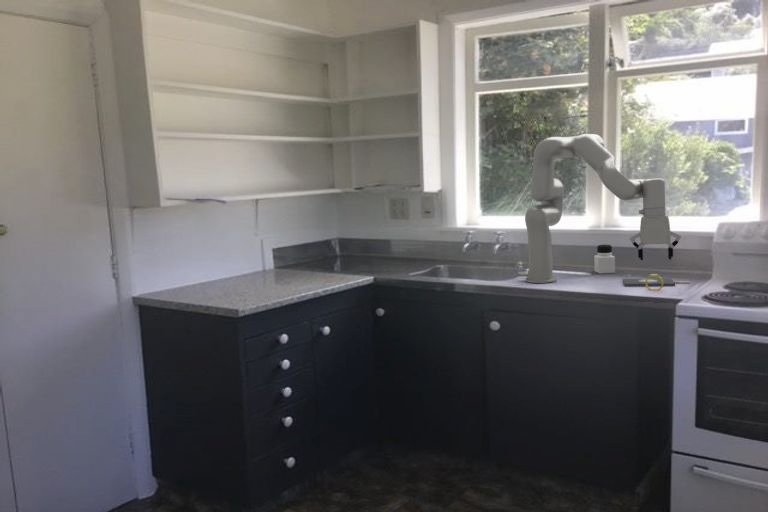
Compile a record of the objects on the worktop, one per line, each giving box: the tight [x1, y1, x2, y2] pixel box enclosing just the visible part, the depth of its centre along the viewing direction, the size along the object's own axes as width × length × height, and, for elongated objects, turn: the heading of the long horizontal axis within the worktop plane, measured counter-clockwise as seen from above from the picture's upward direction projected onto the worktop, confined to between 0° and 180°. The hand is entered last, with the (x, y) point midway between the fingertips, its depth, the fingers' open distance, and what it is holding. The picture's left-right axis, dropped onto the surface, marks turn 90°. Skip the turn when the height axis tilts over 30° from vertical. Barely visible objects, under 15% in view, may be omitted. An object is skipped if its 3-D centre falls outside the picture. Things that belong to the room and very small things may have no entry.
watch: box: [645, 273, 664, 291], centre depth 251 cm, size 6×3×6 cm, turn 60°
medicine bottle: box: [593, 244, 616, 275], centre depth 297 cm, size 7×7×12 cm
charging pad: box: [622, 277, 692, 287], centre depth 264 cm, size 24×12×1 cm, turn 74°
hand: (655, 259), depth 249 cm, fingers open, 9 cm apart
